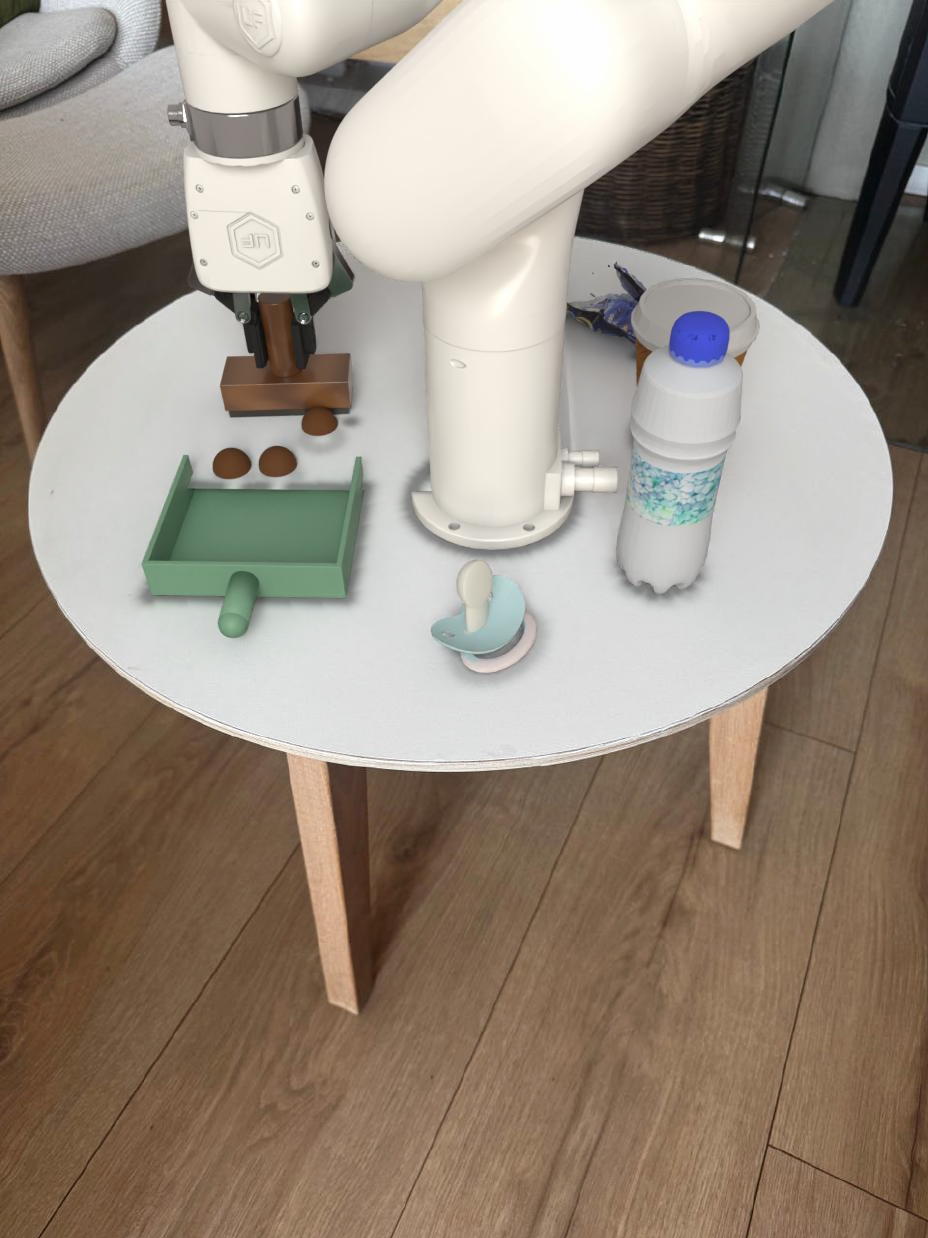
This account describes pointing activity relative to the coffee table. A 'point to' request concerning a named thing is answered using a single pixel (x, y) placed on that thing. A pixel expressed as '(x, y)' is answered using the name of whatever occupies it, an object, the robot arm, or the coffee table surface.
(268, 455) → the crumb
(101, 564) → the coffee table surface
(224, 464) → the crumb
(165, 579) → the dustpan
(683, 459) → the bottle
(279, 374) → the brush
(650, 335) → the disposable coffee cup
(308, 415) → the crumb
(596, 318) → the snack package
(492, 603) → the pacifier
